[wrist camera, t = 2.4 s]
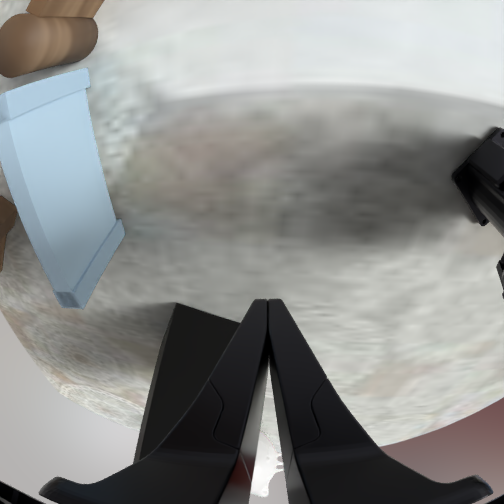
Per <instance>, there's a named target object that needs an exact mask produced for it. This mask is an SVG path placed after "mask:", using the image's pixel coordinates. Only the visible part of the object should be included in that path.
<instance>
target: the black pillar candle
mask: <svg viewBox="0 0 504 504" xmlns="http://www.w3.org/2000/svg"><path fill="white" fill-rule="evenodd" d="M239 325H240V323H236V322H233V321H230V320H227V319H224V318H220V317H217V316H214V315H211V314H208V313H205V312H202V311H199V310H196V309H193V308H190V307H187V306H184V305H181V304H178V303H176V306H175V308H174V311H173V314H172V317H171V319H170V322H169V325H168V327H167V330H166V333H165V336H164V338H163V341H162V344H161V347H160V351H159V355H158V359H157V362H156V366H155V370H154V374H153V378H152V382H151V385H150V390H149V394H148V398H147V403H146V407H145V411H144V415H143V420H142V424H141V429H140V433H139V438H138V443H137V447H136V453H135V458H134V462H133V464H134V463H136V462H138V461H139V460H141V459H143V458H145V457H146V456H148V455H149V454H150V453H151V452H153V451H154V450H155V449H156V448H157V447H158V445H159V444H160V443H161V442H162V441H163V440H164V438H165V437H166V436H167V435H168V434H169V432H170V431H171V430H172V429H173V428H174V426H175V425H176V424H177V423H178V422H179V420H180V419H181V418H182V417H183V415H184V414H185V413H186V411H187V410H188V409H189V408H190V406H191V405H192V404H193V402H194V401H195V399H196V398H197V396H198V394H199V393H200V391H201V390H202V388H203V386H204V385H205V383H206V381H209V380H208V378H209V377H210V375H211V373H212V372H213V370H214V368H215V366H216V365H217V363H218V361H219V360H220V358H221V356H222V355H223V353H224V351H225V349H226V348H227V346H228V344H229V343H230V341H231V339H232V337H233V336H234V334H235V332H236V331H237V329H238V327H239Z"/></svg>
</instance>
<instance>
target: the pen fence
mask: <svg viewBox="0 0 504 504" xmlns="http://www.w3.org/2000/svg"><path fill="white" fill-rule="evenodd" d="M103 2H104V0H31V2H30V3H29V5H28V7H27V9H26V11H27V12H29V13H28V14H17V15H15V16H13V17H11V18H10V19H8V20H7V21H6V22H5V23H4V24H3V26H2V27H1V29H0V74H1V75H3V76H4V77H7V78H14V77H17V76H21V75H24V74H27V73H31V72H35V71H38V70H42V69H46V68H50V67H54V66H59V65H63V64H68V63H73V62H77V61H80V60H82V59H84V58H85V57H87V56H88V55H89V54H90V53H91V51H92V50H93V49H94V47H95V45H96V42H97V38H98V28H97V24H96V22H95V21H94V19H93V17H94V15H95V14H96V12H97V11H98V9H99V8H100V6H101V5H102V3H103ZM16 215H17V208H16V206H14V205H13V204H12V203H10V202H9V201H8V200H6V199H5V198H4V197H3V196H0V272H1V271H2V266H3V257H4V249H5V242H6V235H7V233H8V232H9V231H10V230H11V229H12V228H13V227H14V225H15V220H16Z"/></svg>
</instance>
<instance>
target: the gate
mask: <svg viewBox="0 0 504 504" xmlns="http://www.w3.org/2000/svg"><path fill="white" fill-rule="evenodd" d="M88 87H91V86H90V80H89V73H88V68H84V69H79V70H75V71H71V72H67V73H64V74H60V75H56V76H53V77H49V78H46V79H42V80H39V81H36V82H33V83H30V84H27V85H24V86H21V87H18V88H15V89H12V90H10V91H7V92H4V93H2V94H0V162H1V165H2V168H3V171H4V174H5V178H6V181H7V183H8V186H9V189H10V192H11V195H12V198H13V200H14V203H15V206H16V208H17V211H18V213H19V216H20V218H21V221H22V223H23V226H24V228H25V230H26V233H27V235H28V237H29V240H30V242H31V244H32V246H33V248H34V251H35V253H36V255H37V257H38V259H39V261H40V263H41V265H42V267H43V269H44V271H45V273H46V275H47V277H48V279H49V281H50V283H51V285H52V287H53V289H54V290H53V293H54V295H55V296H56V298H57V300H58V302H59V304H60V305H61V307H62V308H74V309H84V307H85V305H86V303H87V301H88V299H89V297H90V296H91V294H92V292H93V290H94V288H95V286H96V284H97V282H98V281H99V279H100V277H101V275H102V273H103V272H104V270H105V268H106V266H107V265H108V263H109V261H110V259H111V258H112V256H113V254H114V252H115V251H116V249H117V247H118V246H119V244H120V242H121V241H122V239H123V237H124V236H125V231H124V227H123V224H122V221H121V219H116V217H115V214H114V211H113V207H112V204H111V200H110V197H109V193H108V189H107V186H106V182H105V178H104V174H103V170H102V166H101V162H100V158H99V154H98V150H97V145H96V141H95V136H94V132H93V127H92V122H91V117H90V112H89V107H88V101H87V95H86V90H85V88H88Z"/></svg>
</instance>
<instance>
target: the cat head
mask: <svg viewBox="0 0 504 504" xmlns="http://www.w3.org/2000/svg"><path fill="white" fill-rule="evenodd" d="M278 456H282V453H278V452H277V451H276V449H275V447H274V445H273V443H272V441H271V440H270V439H269V438H268V437H267V436H266V435H265V434H264V433H263V432H261V431H260V433H259V440H258V447H257V454H256V460H255V467H254V473H253V479H252V483H251V484H252V486H251V492H250V493H251V494H255V495H257V496H260V497H267V496H268V494H269V490H268V484H269V481H270V480H271V478H272V476H273V475H274V473H276V472H279V471H282V470H284V469H277V468H276V467H277V465H283V462H279V461H278V460H277V457H278Z"/></svg>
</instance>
